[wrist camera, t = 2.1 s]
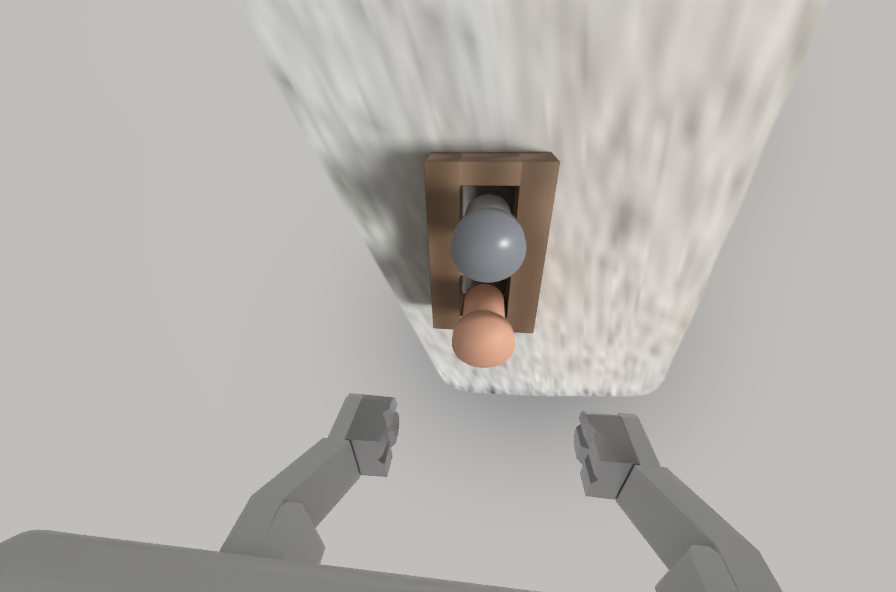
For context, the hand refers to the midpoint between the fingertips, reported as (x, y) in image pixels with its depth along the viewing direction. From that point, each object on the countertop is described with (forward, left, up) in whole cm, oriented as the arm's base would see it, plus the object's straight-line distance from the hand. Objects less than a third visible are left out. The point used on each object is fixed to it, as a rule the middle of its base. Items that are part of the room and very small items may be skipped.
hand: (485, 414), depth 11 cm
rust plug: (0, +8, -19) cm, 20 cm away
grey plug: (0, 0, -19) cm, 19 cm away
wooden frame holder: (0, +4, -23) cm, 24 cm away
